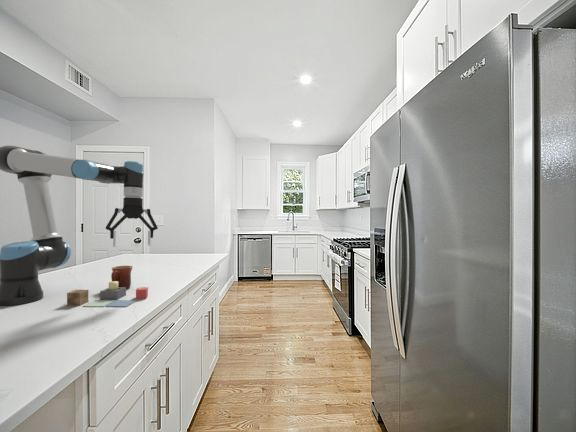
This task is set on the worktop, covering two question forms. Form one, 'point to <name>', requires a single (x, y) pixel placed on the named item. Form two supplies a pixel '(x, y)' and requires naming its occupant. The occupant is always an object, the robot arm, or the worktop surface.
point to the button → (113, 286)
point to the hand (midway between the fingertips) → (132, 245)
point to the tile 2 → (120, 303)
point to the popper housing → (112, 294)
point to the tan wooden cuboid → (77, 297)
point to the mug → (122, 275)
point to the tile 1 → (99, 303)
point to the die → (142, 293)
